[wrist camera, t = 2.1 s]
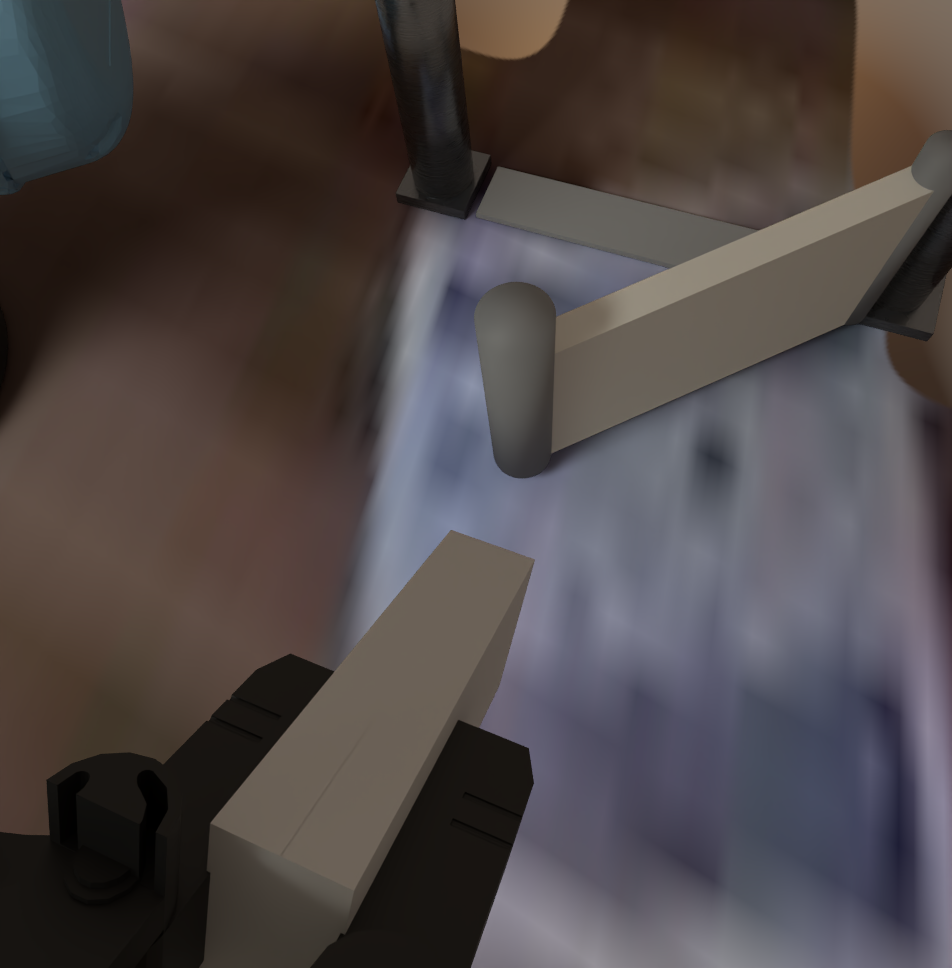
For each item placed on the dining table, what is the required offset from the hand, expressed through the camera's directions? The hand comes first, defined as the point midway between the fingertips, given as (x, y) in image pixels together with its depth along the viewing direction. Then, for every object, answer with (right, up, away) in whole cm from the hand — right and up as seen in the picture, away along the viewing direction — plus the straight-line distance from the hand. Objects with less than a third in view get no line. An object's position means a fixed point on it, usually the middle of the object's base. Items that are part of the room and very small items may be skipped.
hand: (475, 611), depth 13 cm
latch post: (-2, +17, +25) cm, 30 cm away
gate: (+9, +7, +19) cm, 22 cm away
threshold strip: (+8, +14, +23) cm, 28 cm away
